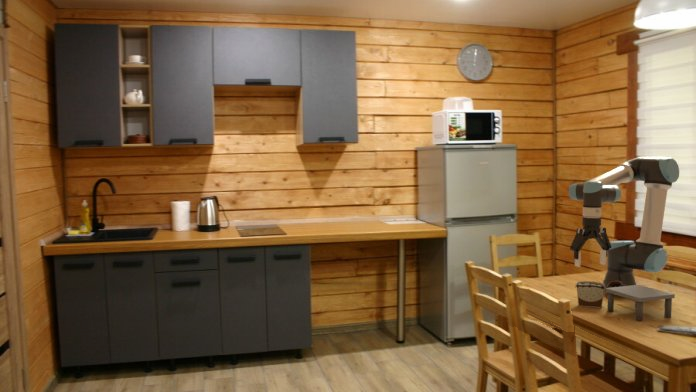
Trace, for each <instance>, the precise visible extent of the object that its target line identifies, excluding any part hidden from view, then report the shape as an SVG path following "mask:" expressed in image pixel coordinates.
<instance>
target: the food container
mask: <svg viewBox="0 0 696 392" xmlns="http://www.w3.org/2000/svg"><path fill="white" fill-rule="evenodd" d="M575 289H576V294H577V305H578V307H585V308H586V307H587V308H597V309H599V308H601V309H602V308H603V302H604V301H603V300H604V295H605V291H606V287H605V285H604V284H603V282H602V283H601V282H598V281H592V280H591V281H589V280H588V281H587V280H586V281H585V280H584V281H583V280H582V281H578V282H576V284H575Z"/></svg>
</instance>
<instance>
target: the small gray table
mask: <svg viewBox="0 0 696 392" xmlns="http://www.w3.org/2000/svg"><path fill="white" fill-rule="evenodd" d="M605 292H608V296H607V310H606V311H607V312H610V313H611V312H614V311H615V310H614V309H615V296H619V297H622V298H625V299H628V300H632V301H635V302H634V307H635V321H636V322H643V316H644V314H643V312H644V303H645V302H652V301H658V300H659V301H660V300H664V318H670V319H671V318H672V309H673V308H672V305H673V299H675V298H676V297H675V293H671V292H667V291H664V290H659V289H657V288H653V287H648V286H645V285H641V284H637V285H631V286H622V287H612V288H606V290H604V293H605ZM614 294H615V295H614Z"/></svg>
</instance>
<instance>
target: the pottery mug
mask: <svg viewBox="0 0 696 392" xmlns="http://www.w3.org/2000/svg"><path fill="white" fill-rule="evenodd" d="M618 285H620V286H618ZM610 286H611V287H622V286H626V285H624V284H623V283H622V282H621V281H612V282H610V283H609V284H608V285H607V288H609V287H610ZM605 294H606V296H607V297H608V292H606V293H605ZM614 296H616V295H615V294H614Z"/></svg>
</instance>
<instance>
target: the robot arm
mask: <svg viewBox="0 0 696 392" xmlns="http://www.w3.org/2000/svg"><path fill="white" fill-rule="evenodd" d="M679 177H680V168H679V164H678V163H677V161H676V160H675V159H674V158H673V157H670V156H669V157H667V156H639V157H634V158H632V159H629V160H626V161H623V162H622V163H619V164H618V165H617V166H616V167H615V168H613V169H611V170H609V171H607V172H605V173H602V174H600V175H598V176H595V177H594V178H592V179H589V180H587V181H584V182H582V183H573V184H571V185H570V186H569V188H568V196H569V198H570V199H571V200H573V201H574V200H575V201H582V216H583V217H582V219H581V220H582V222H581V225H582V228H576V233H575V236H574V238H573V240H572V242H571V244H570V247H569V250H571V251H572V252H573V259H574V266H575V267H577V268H581V267H582V265H581V264H582V263H581V260H582V259H581V257H582V251H581V249H582V248H583V247H584V245H585V244H586V242H587V241H589V240H590V239H591V240H592V239H595V240H596V242H597V243H598V244H599V247H600V248H601V249H600V251H599V253H600V254H599V265H602V266H607V267H606V273H605V277H604V279H603V280H602V284H604V285H605V287H606V288H607V285H608V284H609V283H610V282H612V281H621V282H622V283H623V284H624V285H626V286H631V285H638V284H637V282H636V278H635V275H634V270H635V271H636V270H637V271H643V272H646V273H659V272H661V271H662V270H663V269H665V266H666V265H667V262H668V252H667V250H666V249H665V248H664V243H663V242H662V241H661V237H662V231H663V223H664V216H665V209H666V203H667V196H668V190H669V189H671V188H672V187H673V184H674V183H676V182H677V181H678V180H679ZM630 182H643V184H644V185H643V186H645V188H646V192H645V199H644V200H645V201H644V205H643V206H644V207H643V214H642V219H641V220H642V221H641V228H640V235H639V238H638V239H636V241H634V240H614V241H610V239H609V236H608V233H607V228H606V227H602V218H601V217H602V209H603V208H602V206H603V203H604V204H605V203H616V202H617V201H619V200H620V199H621V198H622V191H621V189H620V187H619V185H621V184H622V183H623V184H627V183H630ZM618 286H620V285H618ZM609 288H612V287H611V286H610V287H609Z"/></svg>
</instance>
